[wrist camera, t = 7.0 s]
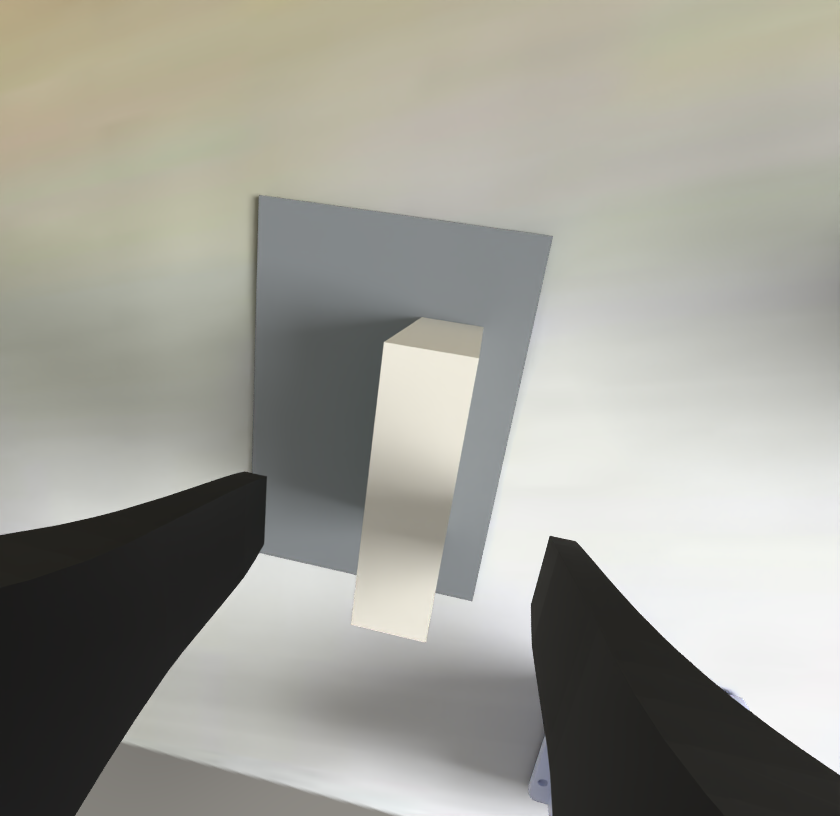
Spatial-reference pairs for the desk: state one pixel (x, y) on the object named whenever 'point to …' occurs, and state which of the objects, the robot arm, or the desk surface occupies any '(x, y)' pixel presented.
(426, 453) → the block
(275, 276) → the mat
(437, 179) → the desk surface
